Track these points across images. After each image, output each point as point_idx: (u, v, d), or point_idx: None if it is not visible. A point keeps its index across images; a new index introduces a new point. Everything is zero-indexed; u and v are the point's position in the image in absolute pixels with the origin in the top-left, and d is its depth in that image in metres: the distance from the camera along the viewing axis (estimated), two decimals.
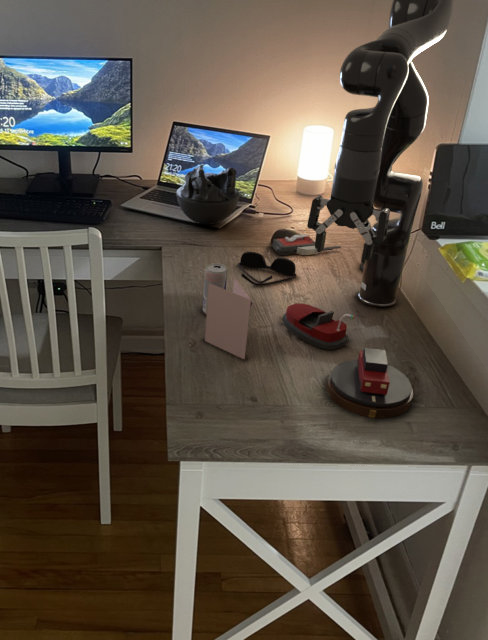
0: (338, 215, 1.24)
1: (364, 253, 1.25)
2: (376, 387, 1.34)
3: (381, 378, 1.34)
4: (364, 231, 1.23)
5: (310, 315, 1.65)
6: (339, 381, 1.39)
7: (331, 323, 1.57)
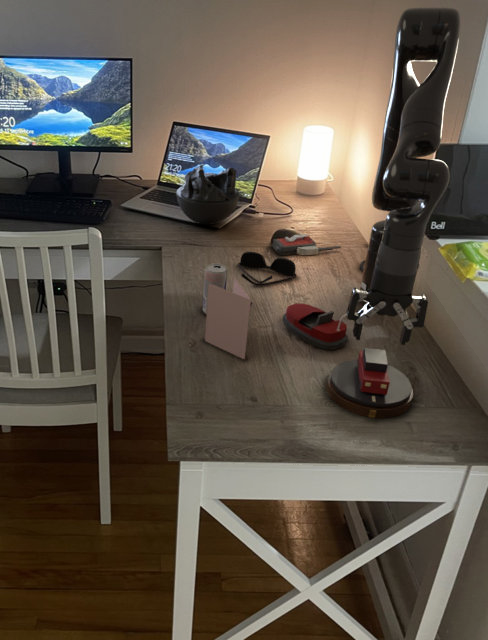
0: (381, 306, 1.29)
1: (405, 337, 1.32)
2: (376, 387, 1.34)
3: (381, 378, 1.34)
4: (406, 318, 1.29)
5: (310, 315, 1.65)
6: (339, 381, 1.39)
7: (331, 323, 1.57)
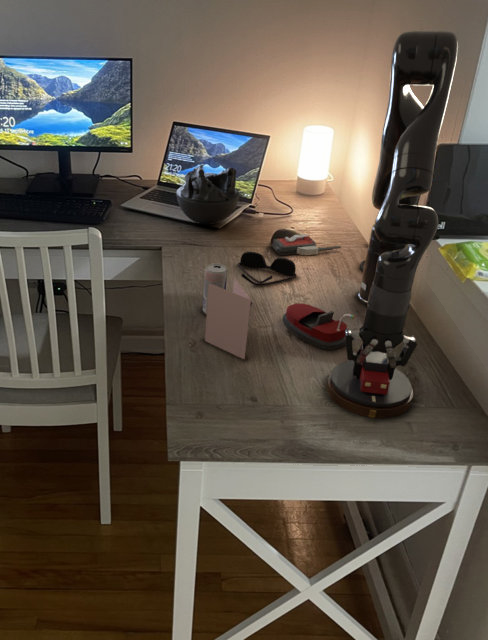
0: (374, 344, 1.33)
1: (388, 375, 1.37)
2: (376, 387, 1.34)
3: (381, 378, 1.34)
4: (393, 357, 1.34)
5: (310, 315, 1.65)
6: (339, 381, 1.39)
7: (331, 323, 1.57)
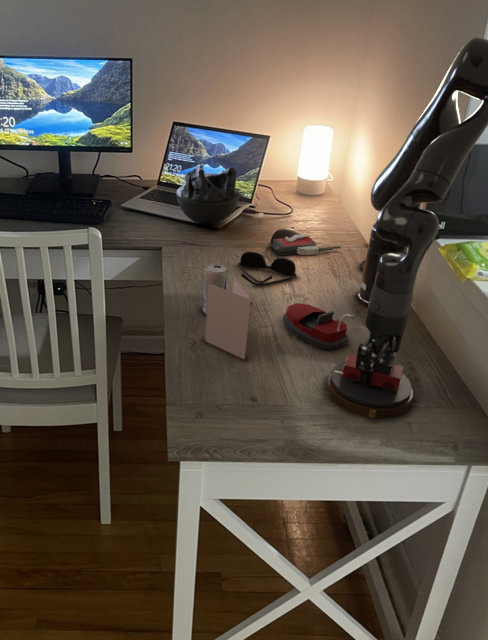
0: None
1: None
2: None
3: (351, 363, 1.38)
4: None
5: (310, 315, 1.65)
6: None
7: (331, 323, 1.57)
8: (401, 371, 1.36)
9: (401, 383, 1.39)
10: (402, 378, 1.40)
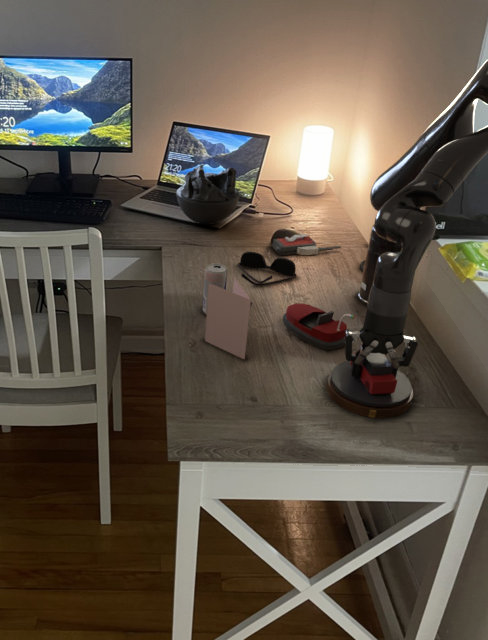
0: None
1: None
2: None
3: None
4: None
5: (310, 315, 1.65)
6: None
7: (331, 323, 1.57)
8: (386, 380, 1.33)
9: (390, 396, 1.35)
10: (400, 395, 1.35)
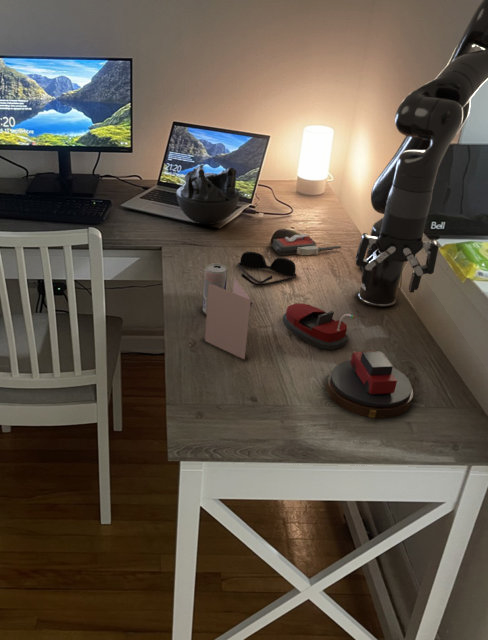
0: None
1: None
2: None
3: (361, 354, 1.41)
4: None
5: (310, 315, 1.65)
6: (397, 374, 1.42)
7: (331, 323, 1.57)
8: (385, 380, 1.33)
9: (390, 396, 1.35)
10: (399, 395, 1.35)
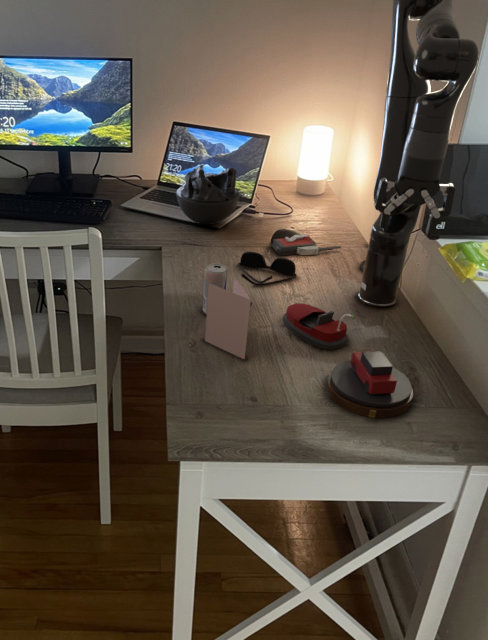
0: None
1: None
2: None
3: (361, 354, 1.41)
4: None
5: (310, 315, 1.65)
6: (397, 374, 1.42)
7: (331, 323, 1.57)
8: (385, 380, 1.33)
9: (390, 396, 1.35)
10: (399, 395, 1.35)
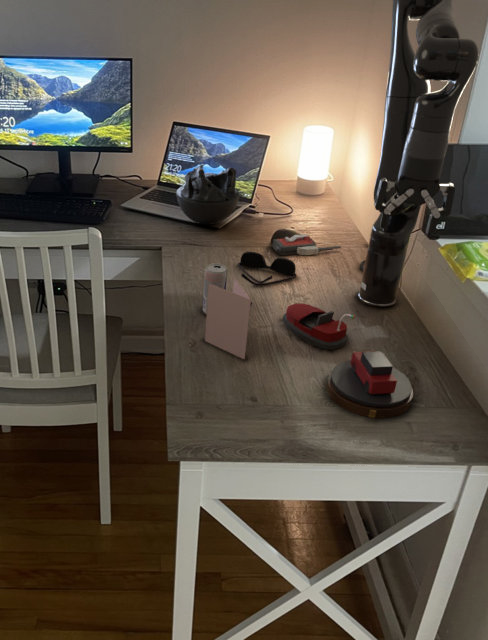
0: None
1: None
2: None
3: (361, 354, 1.41)
4: None
5: (310, 315, 1.65)
6: (397, 374, 1.42)
7: (331, 323, 1.57)
8: (385, 380, 1.33)
9: (390, 396, 1.35)
10: (399, 395, 1.35)
